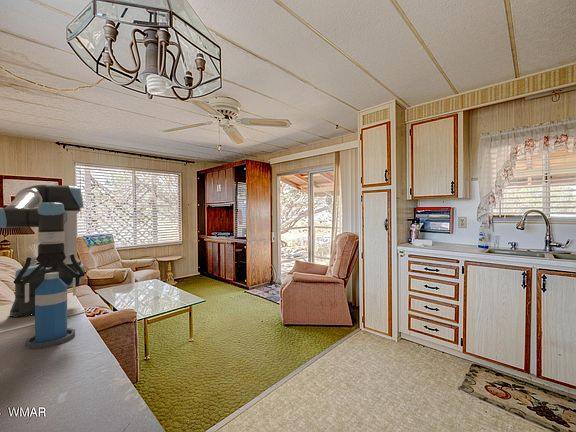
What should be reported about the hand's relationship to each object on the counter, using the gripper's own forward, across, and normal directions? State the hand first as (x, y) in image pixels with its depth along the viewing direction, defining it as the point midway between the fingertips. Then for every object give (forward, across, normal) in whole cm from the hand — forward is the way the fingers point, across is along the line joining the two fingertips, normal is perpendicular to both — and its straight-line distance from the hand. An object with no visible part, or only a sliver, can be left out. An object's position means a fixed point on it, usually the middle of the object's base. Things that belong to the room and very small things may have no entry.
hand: (51, 298), depth 101 cm
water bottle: (+16, 0, -1) cm, 16 cm away
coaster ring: (+16, 0, -1) cm, 16 cm away
